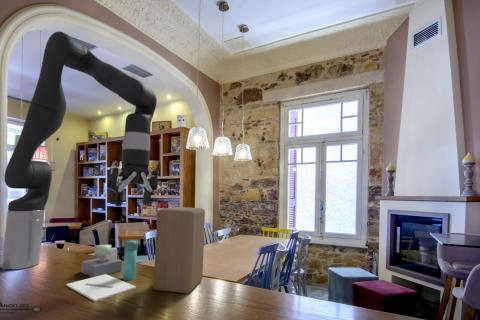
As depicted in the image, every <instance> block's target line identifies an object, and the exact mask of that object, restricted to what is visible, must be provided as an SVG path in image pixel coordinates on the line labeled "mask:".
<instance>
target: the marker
mask: <svg viewBox="0 0 480 320" xmlns="http://www.w3.org/2000/svg"><path fill="white" fill-rule="evenodd" d="M138 245H139V240H133V239H132V240H126V241H125V242H124V255H123V256H124V257H123V258H124V259H123V272H122V281H131V280H135V279H136V272H137V257H138V256H137V254H138V248H139V247H138Z"/></svg>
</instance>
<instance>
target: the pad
mask: <svg viewBox="0 0 480 320" xmlns="http://www.w3.org/2000/svg"><path fill="white" fill-rule="evenodd" d="M66 287H67V288H69V289H71V290H73V291H75V292H77V293H78V294H80V295H82V296H84V297H85V298H87V299H89V300H90V301H93V302H99V301H101V300H104V299H106V298H107V299H108V298H111V297H114V296H117V295H119V294H123V293H126V292H129V291H132V290H135V289H137V286H136V285H133V284H131V283H128V282H126V281H125V280H120V278H116V277H113V276H111V275H110V274H104V275H100V276H96V277H89V278H85V279H82V280H77V281H74V282H70V283H66Z"/></svg>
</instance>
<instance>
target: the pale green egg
mask: <svg viewBox="0 0 480 320" xmlns="http://www.w3.org/2000/svg"><path fill="white" fill-rule="evenodd" d="M111 254H112V244H97V245H95V246H94V256H95V257H98V258H99V263H102V262H105V261H106V257H107V256H110V255H111Z"/></svg>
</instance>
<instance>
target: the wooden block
mask: <svg viewBox="0 0 480 320" xmlns="http://www.w3.org/2000/svg"><path fill="white" fill-rule="evenodd" d="M205 216H206V210H205V208H203V207H188V206H187V207H185V206H173V207H166V208H160V209H158V211H157V218H156V231H155V232H156V235H155V250H154V251H155V253H154V269H153V284H152V285H153V286H152V288H153V290H155V291H163V292H172V293H173V292H174V293H181V294H190V293H191V292H192V291H193V290H194V289H195V288H196V287H197V286H198V285H199V284H200V283H201V282H202V280H203V273H204V272H203V269H204V249H205V248H204V246H205V245H204V244H205V222H206V221H205V220H206V219H205Z"/></svg>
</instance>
